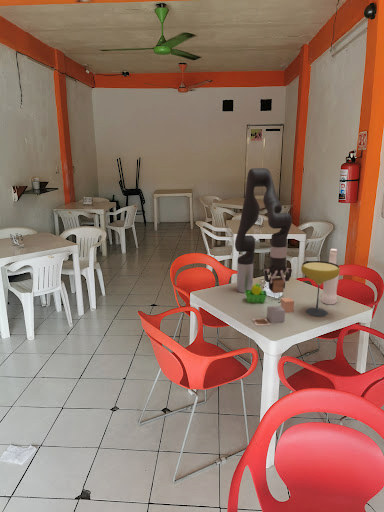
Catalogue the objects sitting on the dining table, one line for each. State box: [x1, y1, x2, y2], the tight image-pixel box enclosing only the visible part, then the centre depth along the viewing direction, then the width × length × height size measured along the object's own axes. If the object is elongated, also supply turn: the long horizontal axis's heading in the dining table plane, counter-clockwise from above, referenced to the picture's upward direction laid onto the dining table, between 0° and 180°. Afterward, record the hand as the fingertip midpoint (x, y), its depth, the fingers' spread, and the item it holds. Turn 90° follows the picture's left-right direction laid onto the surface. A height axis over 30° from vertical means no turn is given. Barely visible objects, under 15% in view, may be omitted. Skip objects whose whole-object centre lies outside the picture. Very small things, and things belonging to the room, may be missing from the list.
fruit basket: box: [244, 283, 268, 304], centre depth 212 cm, size 11×9×11 cm
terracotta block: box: [280, 297, 295, 314], centre depth 201 cm, size 5×5×6 cm
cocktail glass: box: [300, 260, 341, 318], centre depth 195 cm, size 18×18×25 cm
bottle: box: [320, 248, 340, 305], centre depth 208 cm, size 8×8×30 cm
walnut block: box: [271, 276, 285, 294], centre depth 186 cm, size 5×5×6 cm
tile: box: [251, 317, 272, 327], centre depth 187 cm, size 7×7×1 cm
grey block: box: [266, 305, 286, 324], centre depth 190 cm, size 6×6×6 cm
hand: (276, 289), depth 186 cm, fingers closed on walnut block, 5 cm apart
